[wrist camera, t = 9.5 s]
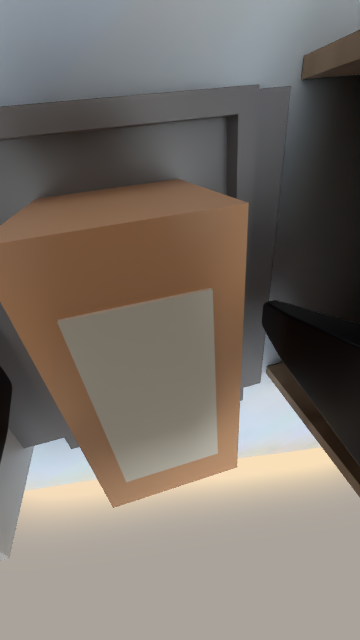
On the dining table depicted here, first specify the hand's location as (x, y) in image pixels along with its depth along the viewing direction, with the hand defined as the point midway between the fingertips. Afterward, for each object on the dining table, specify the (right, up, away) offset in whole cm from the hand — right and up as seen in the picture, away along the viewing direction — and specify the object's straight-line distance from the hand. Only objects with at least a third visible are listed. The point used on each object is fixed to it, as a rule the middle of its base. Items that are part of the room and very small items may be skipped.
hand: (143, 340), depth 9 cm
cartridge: (-1, +1, +2) cm, 2 cm away
